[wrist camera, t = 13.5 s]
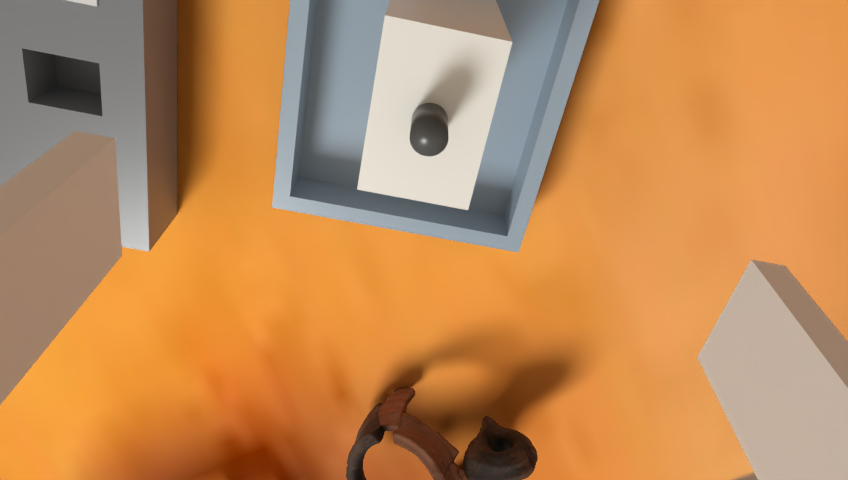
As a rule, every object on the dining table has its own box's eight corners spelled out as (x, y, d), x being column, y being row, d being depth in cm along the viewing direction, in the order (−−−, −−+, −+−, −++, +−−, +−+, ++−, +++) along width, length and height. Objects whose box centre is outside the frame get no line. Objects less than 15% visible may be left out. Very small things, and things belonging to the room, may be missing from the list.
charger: (402, -32, 28) (380, 26, 18) (490, -13, 28) (517, 55, 18) (380, 99, 31) (351, 210, 21) (460, 115, 31) (469, 232, 21)
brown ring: (425, 494, 48) (366, 564, 41) (379, 376, 48) (311, 427, 40) (575, 474, 42) (536, 553, 35) (522, 340, 42) (473, 392, 34)
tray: (322, -212, 25) (308, -220, 23) (624, -141, 26) (644, -141, 24) (284, 181, 34) (272, 207, 32) (512, 223, 35) (518, 252, 33)
